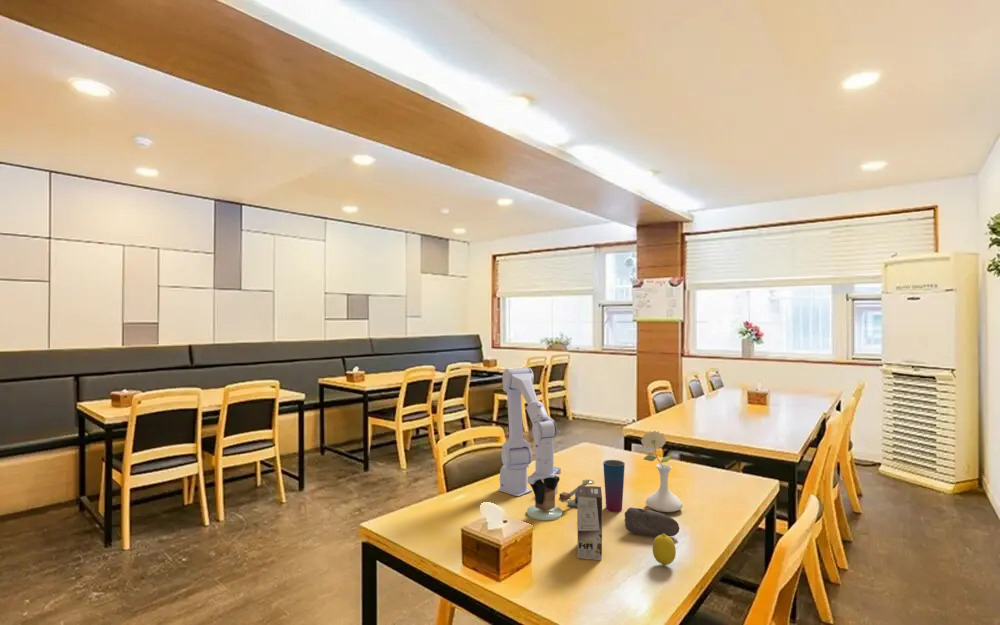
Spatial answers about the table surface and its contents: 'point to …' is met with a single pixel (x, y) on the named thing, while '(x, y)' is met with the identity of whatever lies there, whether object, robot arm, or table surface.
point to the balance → (566, 496)
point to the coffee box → (589, 522)
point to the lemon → (664, 549)
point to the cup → (614, 484)
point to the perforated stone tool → (650, 523)
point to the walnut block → (547, 500)
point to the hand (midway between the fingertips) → (544, 501)
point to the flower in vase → (663, 496)
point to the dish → (544, 513)
